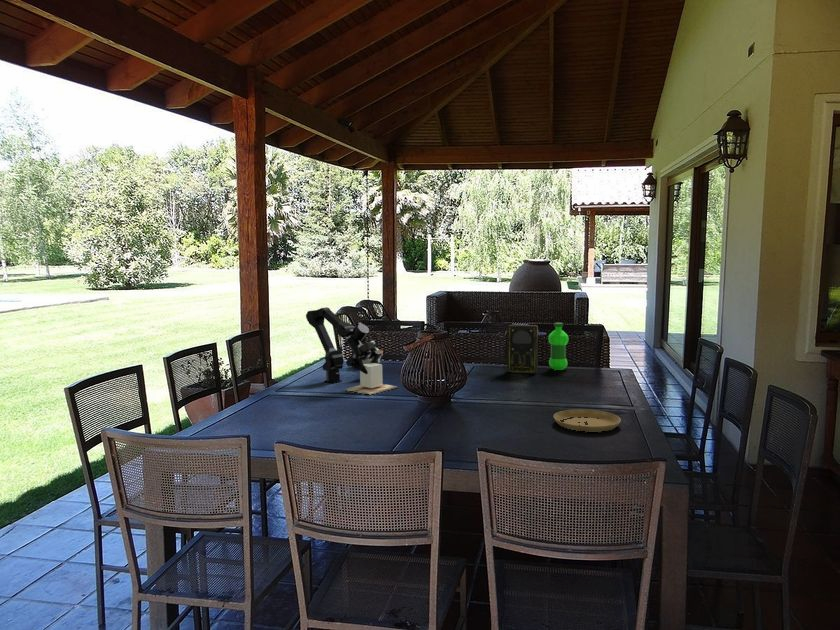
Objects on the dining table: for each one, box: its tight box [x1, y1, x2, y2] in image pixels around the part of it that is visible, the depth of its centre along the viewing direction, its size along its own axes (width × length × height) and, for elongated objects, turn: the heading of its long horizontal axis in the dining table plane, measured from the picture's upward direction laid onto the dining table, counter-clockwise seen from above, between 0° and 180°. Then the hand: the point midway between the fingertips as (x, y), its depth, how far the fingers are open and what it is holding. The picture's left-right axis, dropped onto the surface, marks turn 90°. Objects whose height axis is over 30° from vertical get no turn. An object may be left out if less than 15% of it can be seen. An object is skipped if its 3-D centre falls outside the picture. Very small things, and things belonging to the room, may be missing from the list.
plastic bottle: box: [547, 322, 570, 371], centre depth 335 cm, size 10×10×25 cm
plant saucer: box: [553, 409, 622, 433], centre depth 234 cm, size 24×24×3 cm
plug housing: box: [359, 363, 384, 388], centre depth 296 cm, size 7×7×10 cm
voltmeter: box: [507, 324, 539, 375], centre depth 330 cm, size 16×9×25 cm, turn 73°
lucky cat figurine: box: [369, 346, 384, 361], centre depth 352 cm, size 15×12×14 cm
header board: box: [345, 383, 398, 396], centre depth 296 cm, size 16×18×4 cm
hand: (373, 372), depth 295 cm, fingers closed on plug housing, 7 cm apart
